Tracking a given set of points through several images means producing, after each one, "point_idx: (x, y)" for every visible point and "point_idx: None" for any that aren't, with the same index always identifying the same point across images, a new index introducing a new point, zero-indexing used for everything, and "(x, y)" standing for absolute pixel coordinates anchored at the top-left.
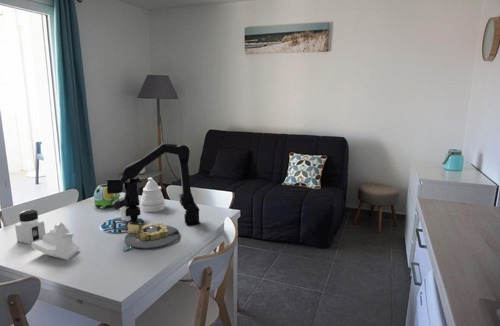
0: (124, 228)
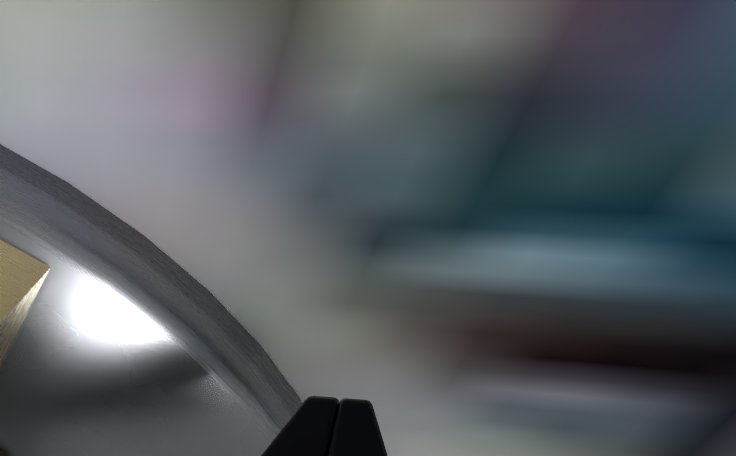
0: (649, 28)
